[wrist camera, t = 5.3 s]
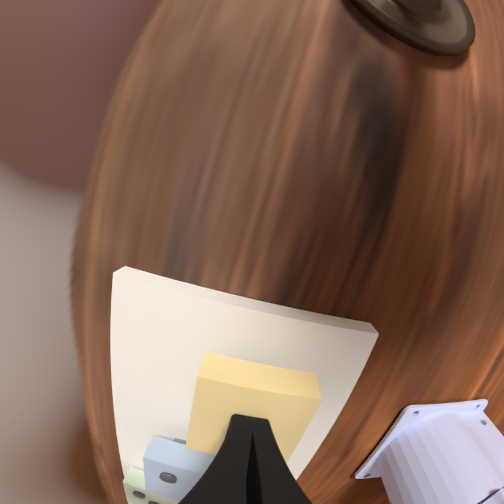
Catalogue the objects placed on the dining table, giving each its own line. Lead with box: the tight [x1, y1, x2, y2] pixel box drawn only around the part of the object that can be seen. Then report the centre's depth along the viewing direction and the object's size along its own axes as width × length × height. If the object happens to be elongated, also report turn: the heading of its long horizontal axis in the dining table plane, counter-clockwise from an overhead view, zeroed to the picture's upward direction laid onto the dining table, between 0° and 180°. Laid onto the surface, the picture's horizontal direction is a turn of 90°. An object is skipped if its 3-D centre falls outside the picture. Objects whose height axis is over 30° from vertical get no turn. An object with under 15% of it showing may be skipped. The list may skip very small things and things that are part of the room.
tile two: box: [143, 435, 216, 501], centre depth 11 cm, size 4×4×2 cm
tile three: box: [123, 466, 180, 504], centre depth 14 cm, size 4×4×2 cm
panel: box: [111, 266, 379, 480], centre depth 13 cm, size 12×20×2 cm, turn 167°
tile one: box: [186, 352, 322, 463], centre depth 10 cm, size 4×4×2 cm
